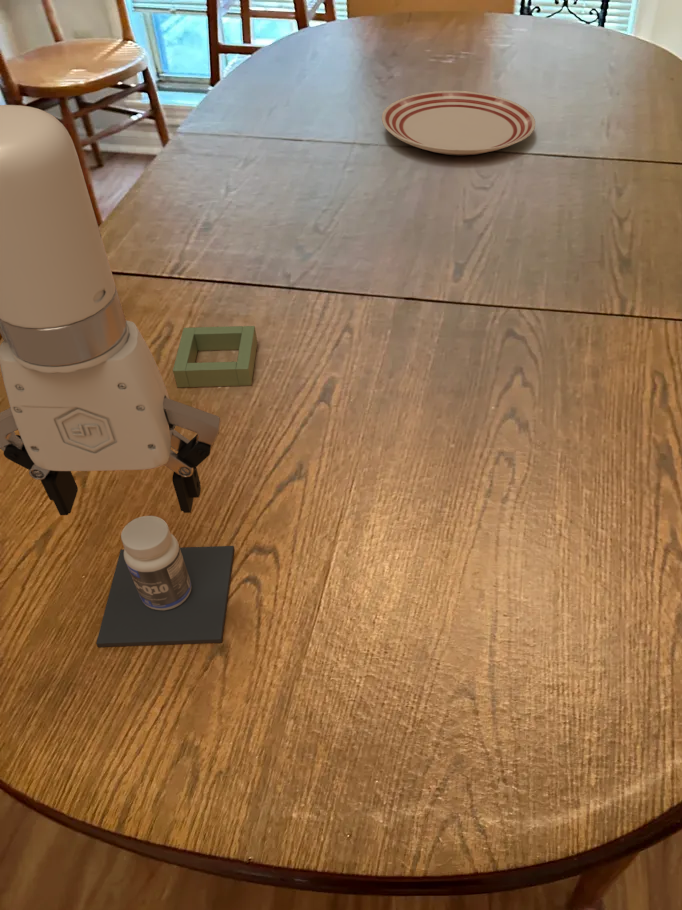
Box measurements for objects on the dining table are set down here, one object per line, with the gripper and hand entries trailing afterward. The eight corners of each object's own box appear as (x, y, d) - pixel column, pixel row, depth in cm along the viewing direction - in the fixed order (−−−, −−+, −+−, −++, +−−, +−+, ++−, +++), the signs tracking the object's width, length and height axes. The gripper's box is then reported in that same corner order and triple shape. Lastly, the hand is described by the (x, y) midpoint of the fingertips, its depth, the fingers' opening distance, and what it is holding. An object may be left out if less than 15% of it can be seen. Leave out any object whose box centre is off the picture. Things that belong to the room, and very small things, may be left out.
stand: (177, 387, 94) (172, 370, 92) (187, 344, 100) (183, 327, 98) (251, 385, 94) (248, 368, 93) (257, 342, 100) (254, 325, 98)
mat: (97, 647, 70) (95, 643, 69) (122, 553, 77) (120, 549, 77) (221, 642, 70) (220, 639, 70) (234, 549, 77) (233, 545, 77)
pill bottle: (131, 606, 72) (105, 546, 66) (155, 567, 75) (132, 507, 69) (178, 617, 71) (156, 557, 65) (201, 577, 74) (181, 517, 68)
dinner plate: (476, 95, 155) (477, 77, 152) (564, 145, 139) (567, 125, 137) (354, 126, 145) (353, 106, 143) (435, 182, 130) (436, 162, 127)
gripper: (-93, 357, 48) (8, 538, 61) (189, 353, 49) (231, 533, 62) (-52, 290, 53) (34, 471, 66) (204, 288, 54) (240, 468, 67)
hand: (129, 501), depth 64 cm, fingers open, 9 cm apart
